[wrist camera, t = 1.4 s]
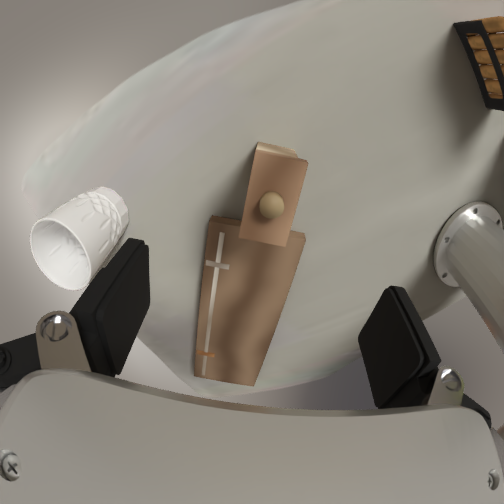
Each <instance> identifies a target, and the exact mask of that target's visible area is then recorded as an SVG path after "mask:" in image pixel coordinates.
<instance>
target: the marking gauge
mask: <svg viewBox="0 0 504 504" xmlns="http://www.w3.org/2000/svg"><path fill="white" fill-rule="evenodd" d="M307 166H308V162H307V160H304V159H299V158H298V157H297V155H296V153H295V151H294V150H293V149H289V148H285V147H280V146H276V145H271V144H266V143H261V142H258V144H257V148H256V151H255V156H254V161H253V166H252V171H251V176H250V181H249V186H248V191H247V196H246V201H245V206H244V211H243V217H242V222H241V227H240V232H239V237H238V238H242V239H247V240H253V241H258V242H263V243H268V244H273V245H278V246H283V247H286V243H287V240H288V236H289V233H290V229H291V226H292V222H293V218H294V215H295V211H296V208H297V204H298V200H299V197H300V193H301V189H302V185H303V182H304V178H305V174H306V170H307Z"/></svg>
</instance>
